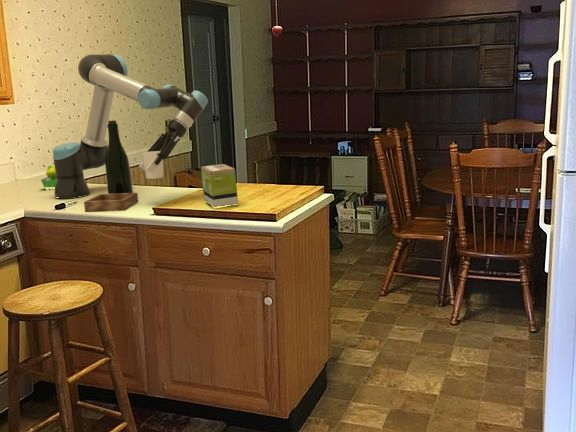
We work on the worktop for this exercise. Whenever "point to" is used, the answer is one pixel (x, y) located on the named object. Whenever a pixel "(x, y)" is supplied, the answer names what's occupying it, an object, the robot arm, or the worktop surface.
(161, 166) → the white cup
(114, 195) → the walnut box
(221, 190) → the tea box
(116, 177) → the wine bottle
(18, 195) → the worktop surface
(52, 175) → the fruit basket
